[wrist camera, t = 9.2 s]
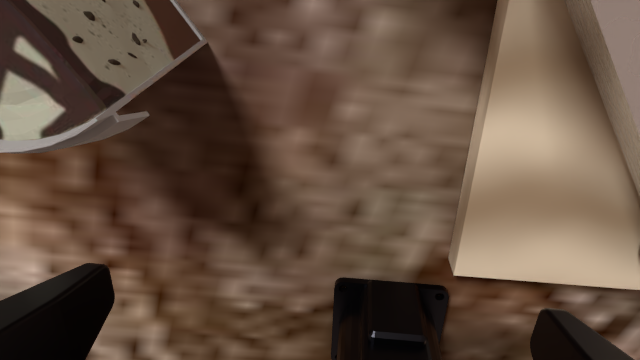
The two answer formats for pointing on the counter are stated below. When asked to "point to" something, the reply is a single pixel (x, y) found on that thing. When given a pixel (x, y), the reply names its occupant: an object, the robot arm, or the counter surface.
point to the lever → (614, 65)
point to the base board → (544, 163)
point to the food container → (83, 66)
